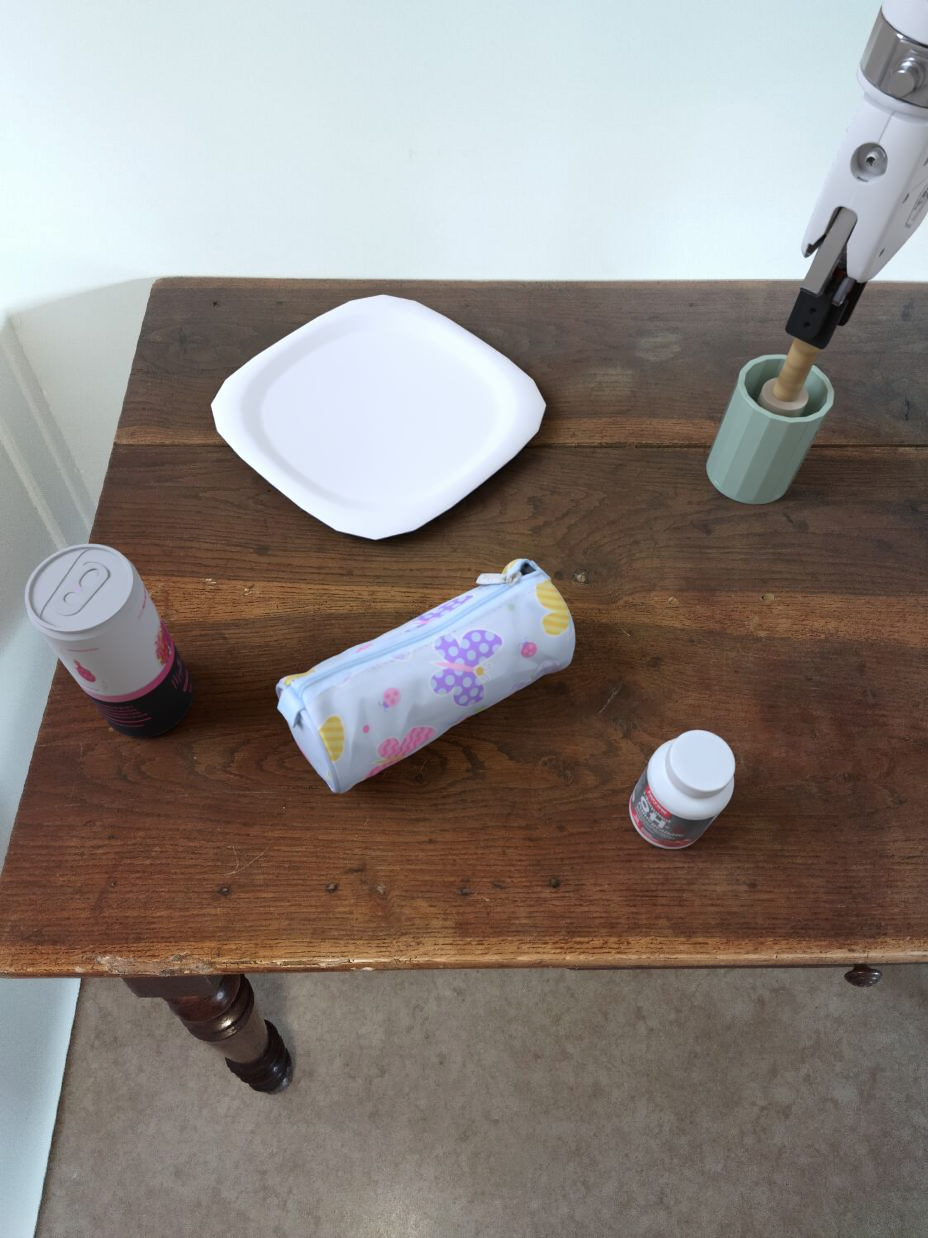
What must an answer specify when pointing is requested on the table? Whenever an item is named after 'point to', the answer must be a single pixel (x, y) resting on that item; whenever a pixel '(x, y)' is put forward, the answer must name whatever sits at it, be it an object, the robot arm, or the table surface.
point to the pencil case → (427, 675)
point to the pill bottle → (683, 789)
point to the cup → (764, 435)
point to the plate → (378, 415)
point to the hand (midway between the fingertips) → (816, 325)
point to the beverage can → (110, 638)
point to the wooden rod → (792, 378)
